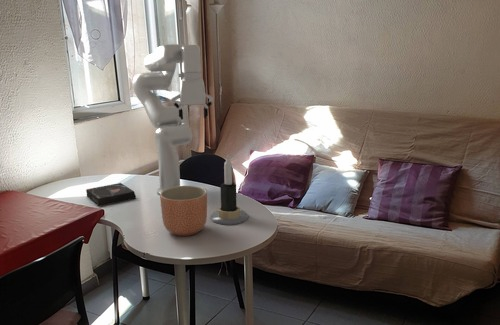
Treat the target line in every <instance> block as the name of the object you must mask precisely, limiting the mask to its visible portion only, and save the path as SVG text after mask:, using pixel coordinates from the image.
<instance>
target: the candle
mask: <svg viewBox="0 0 500 325" xmlns="http://www.w3.org/2000/svg"><path fill="white" fill-rule="evenodd" d="M223 163H224V165H223V169H224V172H223V173H224V182H222V184H220V206H221V210H222V211H226V212H231V211H235V210H237V206H238V205H237V184H235V182H233V171H232V170H233V166H232V165H233V164H232V162H231V161H230V156H229V154H227V155H226V160H225V161H224V162H223Z"/></svg>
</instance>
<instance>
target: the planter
mask: <svg viewBox="0 0 500 325" xmlns="http://www.w3.org/2000/svg"><path fill="white" fill-rule="evenodd" d="M207 191H208V190H207V189H205V188H203V187H201V186H197V185H180V186H176V187H171V188H168V189H165V190H164V191H162V192H161V193H160V196H159V198H160V207H161V208H160V209H161V219H162V224H163V226H164V227H165V229H166V230H167V231H168V232H169V233H171V234H173V235H174V236H177V237H188V236H193V235H195V234H198V233H199V232H201V230H203V229H204V228H205V225H206V223H207V218H208V192H207Z"/></svg>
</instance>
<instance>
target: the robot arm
mask: <svg viewBox="0 0 500 325" xmlns="http://www.w3.org/2000/svg"><path fill="white" fill-rule="evenodd" d="M143 64H144V67H145V69H146V70H148V72H141V73H137V74H136V75H134V77H133V79H132V88H133V91H134V94H135V95H136V97H137V99H138V101H139V102H140V103H141V104H142V106H143V108H144V111H145V113H146V115H147V117H148V119H149V122H150V123H151V125H152V127H154V128H157V129H156V130H155V131H154V135H153V136H154V141H155V145H156V151H157V158H158V160H157V161H158V175H159V176H158V177H159V188H157V189H156V193H157V195H160V193H161V192H162V191H164V190H165V189H168V188H171V187H176V186H181V178H180V177H181V175H180V174H181V173H180V156H179V153H178V151H177V150H176V149H175V148H174V147H177V146H183V145H188V144H189V143H191V142H192V140H193V130H192V129H191V126H190V124H189V122H188V120H187V118H186V116H185V114H184V112H183V107H184V106H199V105H202V106H203V118H204V119H207V117H208V115H209V114H208V112H209V111H208V109H209V107H211V105H212V104H213V103H214V102H213V101H214V100H215V98H214V97H213V96H211V95H209V94H208V93H206V87H205V82H204V79H202V66H201V64H202V62H201V47H200V45H197V44H189V43H187V44H185V43H184V44H182V43H180V44H179V43H177V44H176V43H173V44H172V43H170V44H163V45H160V46H158V47H156V48H155V51H154V52H151V53H149V54H147V55H146V56H145V58H144V61H143ZM177 64H181V73H178V78H182V79H181V80H180V83H179V84H180V86H179V94H178V95H176V96H174V97H172V98H171V99H170V100H171V102H172V104H173V105H171V106H165V105H164V104H163V102H162V100H161V98H159V96H158V95H157V94H155V92H152V91H163V90H167V89H169V88H170V86H171V84H172V82H173V79H174V76H175V72H176V69H177ZM149 71H150V72H149ZM207 99H209V101H208V102H207V103H206V100H207ZM177 100H179V101H180V103H179V104H178V103H177V102H176V101H177Z"/></svg>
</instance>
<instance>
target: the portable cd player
mask: <svg viewBox="0 0 500 325" xmlns="http://www.w3.org/2000/svg"><path fill="white" fill-rule="evenodd" d="M85 192H86V197H87V198H88V199H89V200H90V201H91V202H93V203H94V204H95V205H96V206H97V207H103V206H107V205H111V204H117V203H122V202H125V201H130V200H131V201H132V200H135V199H136V197H137V196H136V192H135V191H134V190H133V189H131V188H130V187H128V186H126V185H124V184H123V183H122V182H117V183H114V184H113V183H112V184H107V185H102V186H97V187H91V188H87V189H86V190H85Z"/></svg>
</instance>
